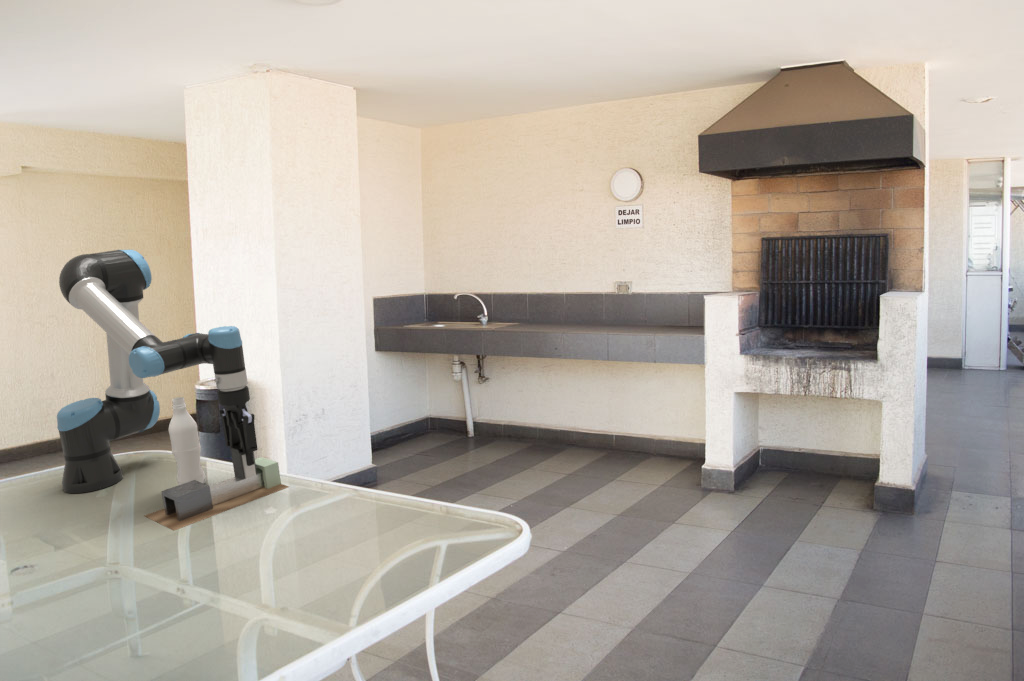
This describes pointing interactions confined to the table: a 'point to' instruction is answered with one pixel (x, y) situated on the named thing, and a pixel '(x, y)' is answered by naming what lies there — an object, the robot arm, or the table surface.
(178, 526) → the base board
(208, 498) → the sleeve
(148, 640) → the table surface
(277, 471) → the socket block
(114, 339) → the robot arm
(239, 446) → the rod
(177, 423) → the water bottle
